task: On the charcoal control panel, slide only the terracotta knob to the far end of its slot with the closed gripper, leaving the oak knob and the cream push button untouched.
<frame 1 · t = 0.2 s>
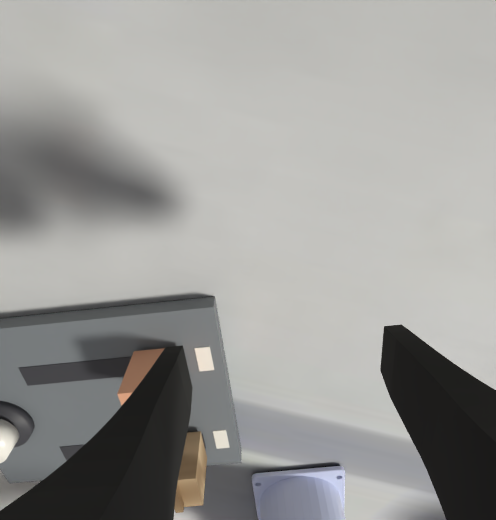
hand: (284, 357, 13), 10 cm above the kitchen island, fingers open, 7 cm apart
terracotta knob: (155, 390, 22), point 4 cm above the kitchen island, slide at 0.0 cm
panel: (102, 394, 27), on the kitchen island
oak knob: (180, 472, 25), point 4 cm above the kitchen island, slide at 0.0 cm
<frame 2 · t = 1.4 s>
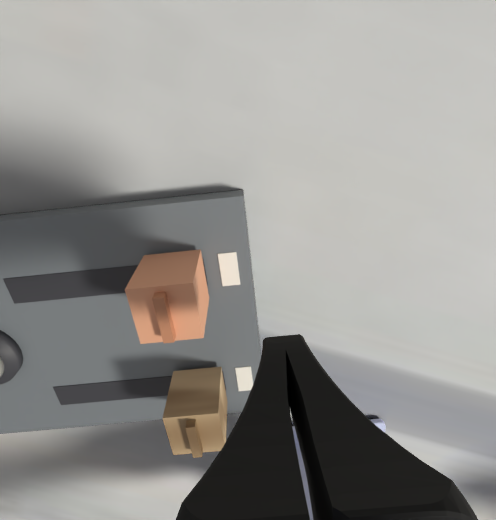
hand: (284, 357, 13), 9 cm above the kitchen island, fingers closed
terracotta knob: (171, 297, 18), point 4 cm above the kitchen island, slide at 0.0 cm
panel: (104, 322, 23), on the kitchen island
oak knob: (197, 412, 21), point 4 cm above the kitchen island, slide at 0.0 cm
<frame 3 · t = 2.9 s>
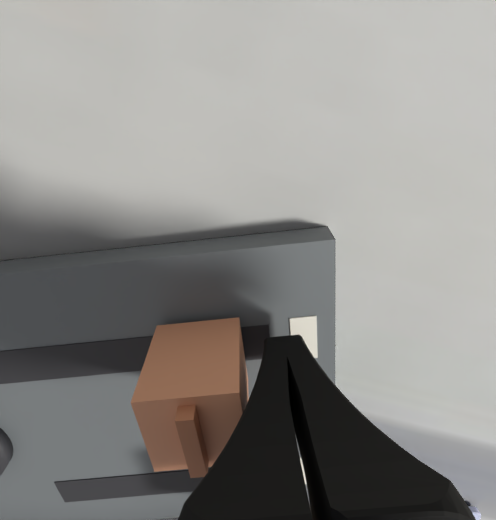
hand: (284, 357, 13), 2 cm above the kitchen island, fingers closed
terracotta knob: (199, 394, 12), point 4 cm above the kitchen island, slide at 1.0 cm, touching gripper
panel: (123, 399, 17), on the kitchen island
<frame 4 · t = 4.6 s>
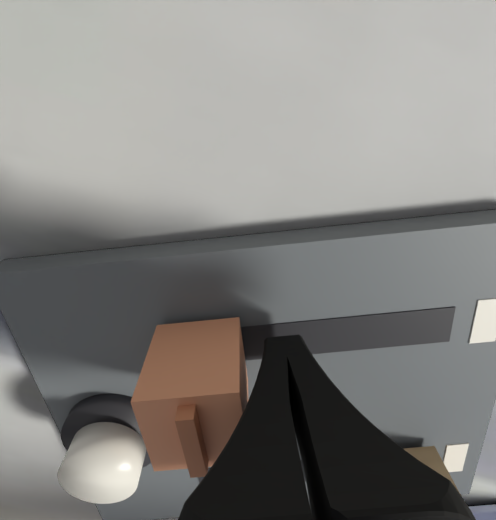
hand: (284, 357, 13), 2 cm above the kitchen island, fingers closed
button: (104, 462, 14), point 3 cm above the kitchen island, slide at 0.0 cm
terracotta knob: (199, 394, 12), point 4 cm above the kitchen island, slide at 7.9 cm, touching gripper
panel: (272, 385, 17), on the kitchen island
oak knob: (417, 515, 15), point 4 cm above the kitchen island, slide at 0.0 cm
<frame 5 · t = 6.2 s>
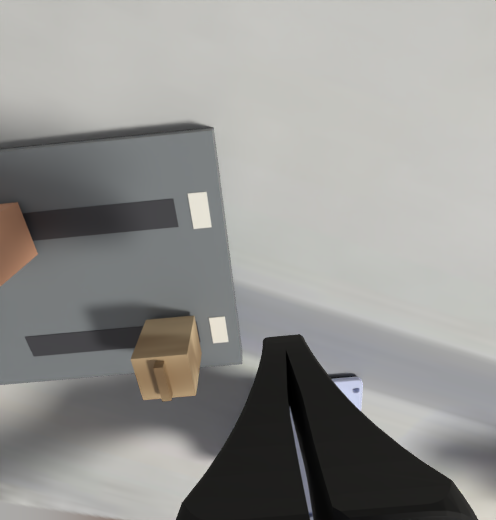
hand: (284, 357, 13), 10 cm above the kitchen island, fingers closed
panel: (77, 271, 22), on the kitchen island
oak knob: (169, 359, 21), point 4 cm above the kitchen island, slide at 0.0 cm
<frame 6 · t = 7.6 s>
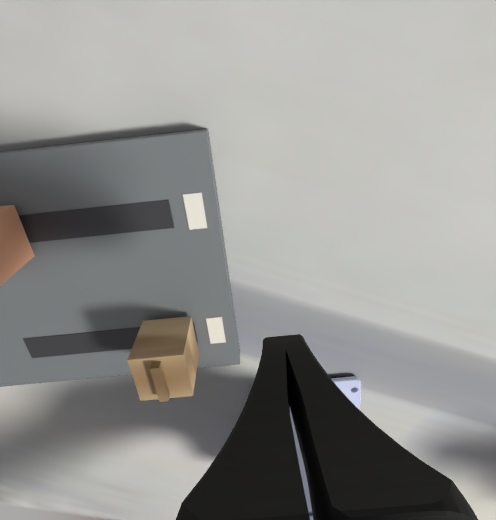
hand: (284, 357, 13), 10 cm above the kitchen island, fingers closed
panel: (74, 272, 22), on the kitchen island
oak knob: (166, 359, 21), point 4 cm above the kitchen island, slide at 0.0 cm
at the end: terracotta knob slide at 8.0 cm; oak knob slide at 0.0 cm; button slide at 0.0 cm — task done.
